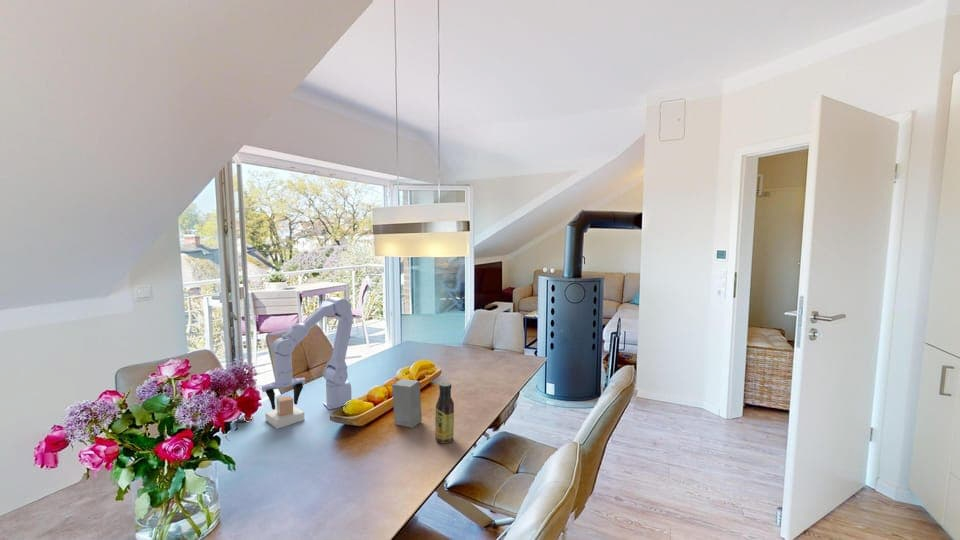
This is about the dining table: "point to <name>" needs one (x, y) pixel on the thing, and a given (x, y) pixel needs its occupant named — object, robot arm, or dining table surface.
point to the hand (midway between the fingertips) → (284, 406)
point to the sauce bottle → (444, 414)
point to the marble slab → (284, 418)
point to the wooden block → (285, 405)
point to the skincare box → (407, 403)
